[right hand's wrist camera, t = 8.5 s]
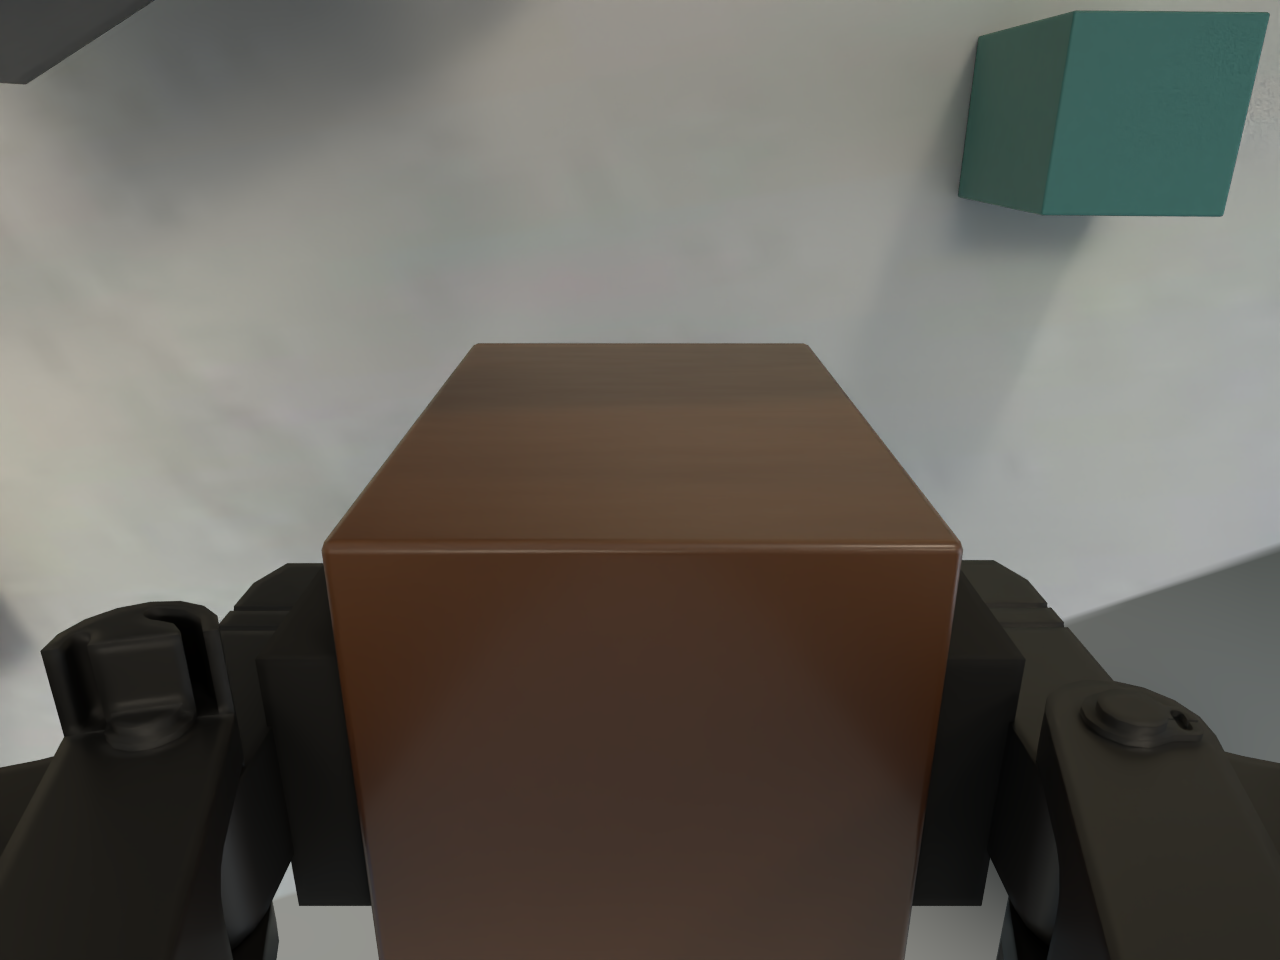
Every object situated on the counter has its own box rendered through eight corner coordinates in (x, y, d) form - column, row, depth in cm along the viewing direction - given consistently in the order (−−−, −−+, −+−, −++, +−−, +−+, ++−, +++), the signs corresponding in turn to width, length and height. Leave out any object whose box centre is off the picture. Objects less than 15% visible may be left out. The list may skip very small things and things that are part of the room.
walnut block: (472, 341, 13) (316, 542, 7) (809, 342, 13) (969, 543, 7) (492, 634, 15) (383, 1013, 9) (788, 634, 15) (901, 1013, 9)
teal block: (977, 36, 29) (1074, 10, 23) (1131, 37, 29) (1272, 11, 23) (957, 196, 31) (1041, 215, 25) (1101, 198, 31) (1223, 217, 25)
